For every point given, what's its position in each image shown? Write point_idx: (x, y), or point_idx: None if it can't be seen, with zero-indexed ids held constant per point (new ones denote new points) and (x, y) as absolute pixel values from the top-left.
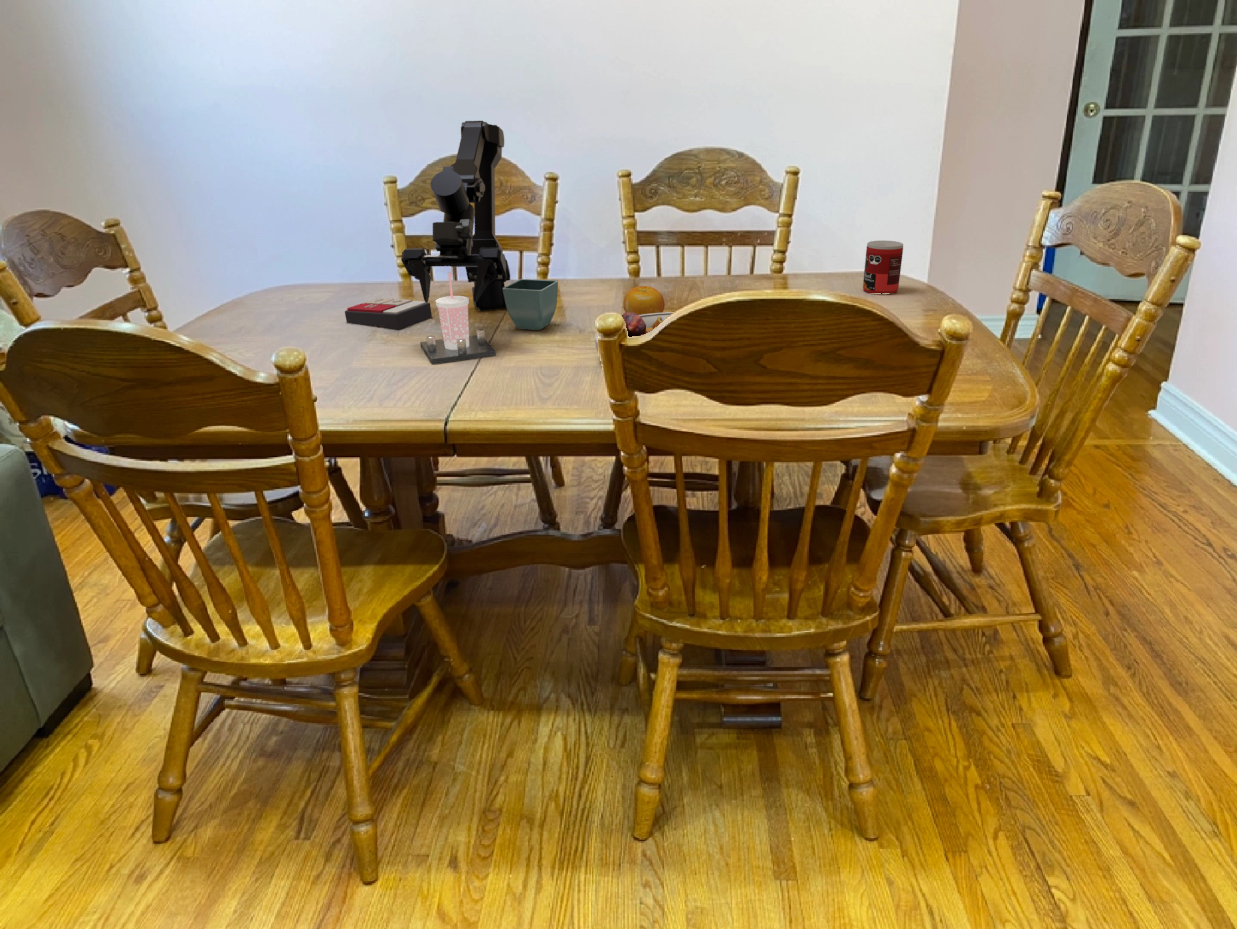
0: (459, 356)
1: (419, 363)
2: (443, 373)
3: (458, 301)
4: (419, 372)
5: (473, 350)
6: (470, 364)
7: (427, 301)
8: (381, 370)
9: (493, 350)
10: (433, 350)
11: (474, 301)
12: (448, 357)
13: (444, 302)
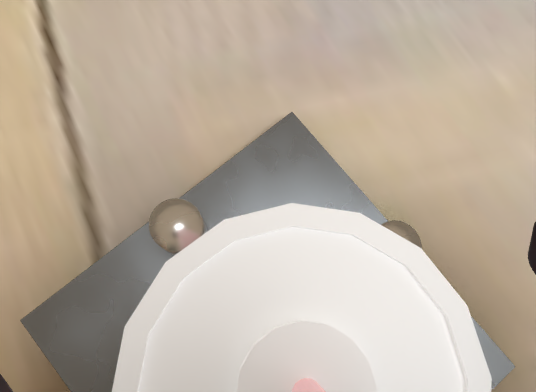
0: (184, 197)
1: (355, 125)
2: (180, 30)
3: (206, 356)
4: (288, 21)
5: (145, 292)
6: (112, 164)
7: (532, 258)
8: (458, 12)
9: (32, 319)
10: None
11: (7, 390)
12: (228, 162)
13: (341, 280)
